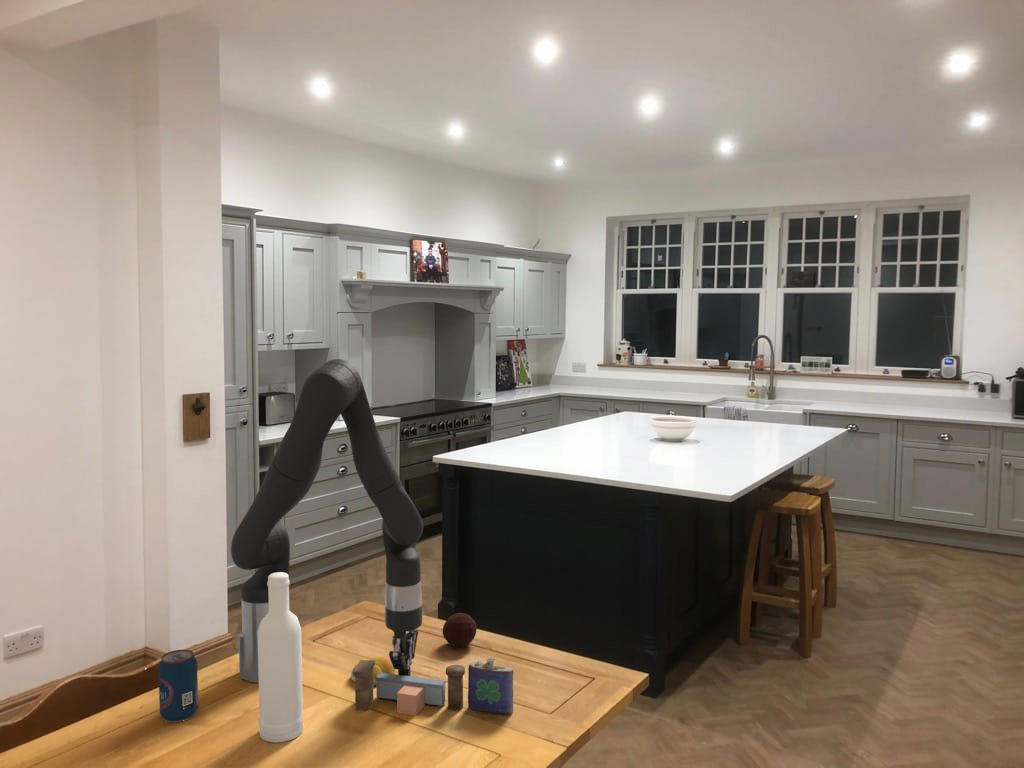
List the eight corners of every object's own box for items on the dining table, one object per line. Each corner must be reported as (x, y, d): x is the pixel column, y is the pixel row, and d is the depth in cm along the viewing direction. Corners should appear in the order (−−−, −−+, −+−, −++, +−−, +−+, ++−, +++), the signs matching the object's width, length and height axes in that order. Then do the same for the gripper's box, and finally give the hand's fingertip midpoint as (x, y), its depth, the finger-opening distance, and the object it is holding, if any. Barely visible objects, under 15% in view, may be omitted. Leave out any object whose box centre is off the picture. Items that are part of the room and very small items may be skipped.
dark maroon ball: (475, 637, 196) (475, 606, 195) (478, 652, 186) (478, 620, 186) (441, 638, 194) (441, 607, 194) (443, 654, 185) (443, 622, 185)
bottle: (310, 723, 154) (307, 569, 151) (292, 745, 146) (289, 583, 143) (271, 720, 155) (267, 567, 152) (251, 741, 147) (247, 580, 145)
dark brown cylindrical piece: (444, 711, 159) (444, 672, 158) (447, 702, 162) (447, 664, 162) (463, 711, 158) (463, 673, 158) (466, 702, 162) (466, 665, 161)
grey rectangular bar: (446, 701, 162) (446, 680, 162) (442, 707, 160) (442, 685, 160) (380, 693, 166) (380, 672, 165) (376, 698, 163) (376, 677, 163)
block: (416, 715, 157) (415, 695, 157) (397, 712, 158) (397, 692, 158) (424, 706, 161) (424, 686, 160) (405, 703, 162) (405, 684, 162)
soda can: (153, 716, 156) (151, 656, 155) (187, 703, 162) (185, 645, 161) (170, 728, 152) (168, 666, 151) (205, 714, 157) (203, 654, 156)
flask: (514, 710, 159) (514, 657, 158) (510, 717, 156) (510, 663, 155) (470, 704, 162) (469, 652, 161) (465, 711, 159) (465, 658, 158)
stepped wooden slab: (353, 710, 159) (353, 672, 158) (360, 697, 164) (360, 659, 164) (368, 710, 159) (368, 672, 158) (375, 697, 164) (374, 660, 164)
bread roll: (401, 677, 174) (401, 659, 174) (368, 691, 168) (367, 672, 167) (378, 665, 180) (378, 648, 180) (344, 678, 173) (344, 660, 173)
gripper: (412, 616, 158) (413, 701, 160) (429, 592, 171) (430, 671, 173) (375, 613, 159) (376, 698, 161) (395, 590, 172) (396, 669, 174)
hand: (404, 684), depth 167 cm, fingers closed
